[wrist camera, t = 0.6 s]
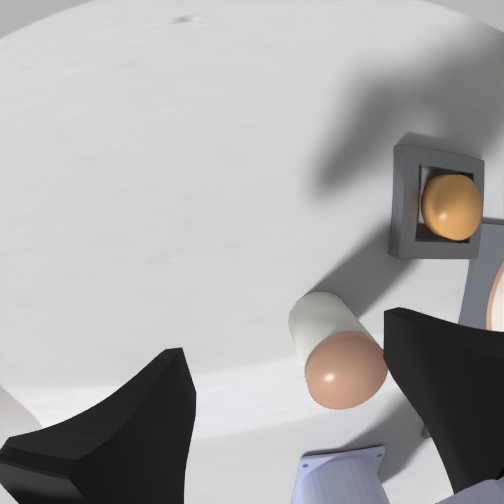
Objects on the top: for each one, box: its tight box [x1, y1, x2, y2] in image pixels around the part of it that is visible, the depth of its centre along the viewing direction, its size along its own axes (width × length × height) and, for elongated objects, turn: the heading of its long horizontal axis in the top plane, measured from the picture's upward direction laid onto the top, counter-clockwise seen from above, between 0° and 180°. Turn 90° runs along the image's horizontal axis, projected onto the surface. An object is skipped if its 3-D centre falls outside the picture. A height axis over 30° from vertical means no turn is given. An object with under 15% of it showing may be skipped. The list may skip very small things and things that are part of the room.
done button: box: [421, 175, 482, 240], centre depth 17 cm, size 4×4×2 cm
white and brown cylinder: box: [288, 291, 388, 410], centre depth 17 cm, size 4×4×7 cm
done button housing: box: [389, 144, 484, 259], centre depth 18 cm, size 7×7×2 cm
